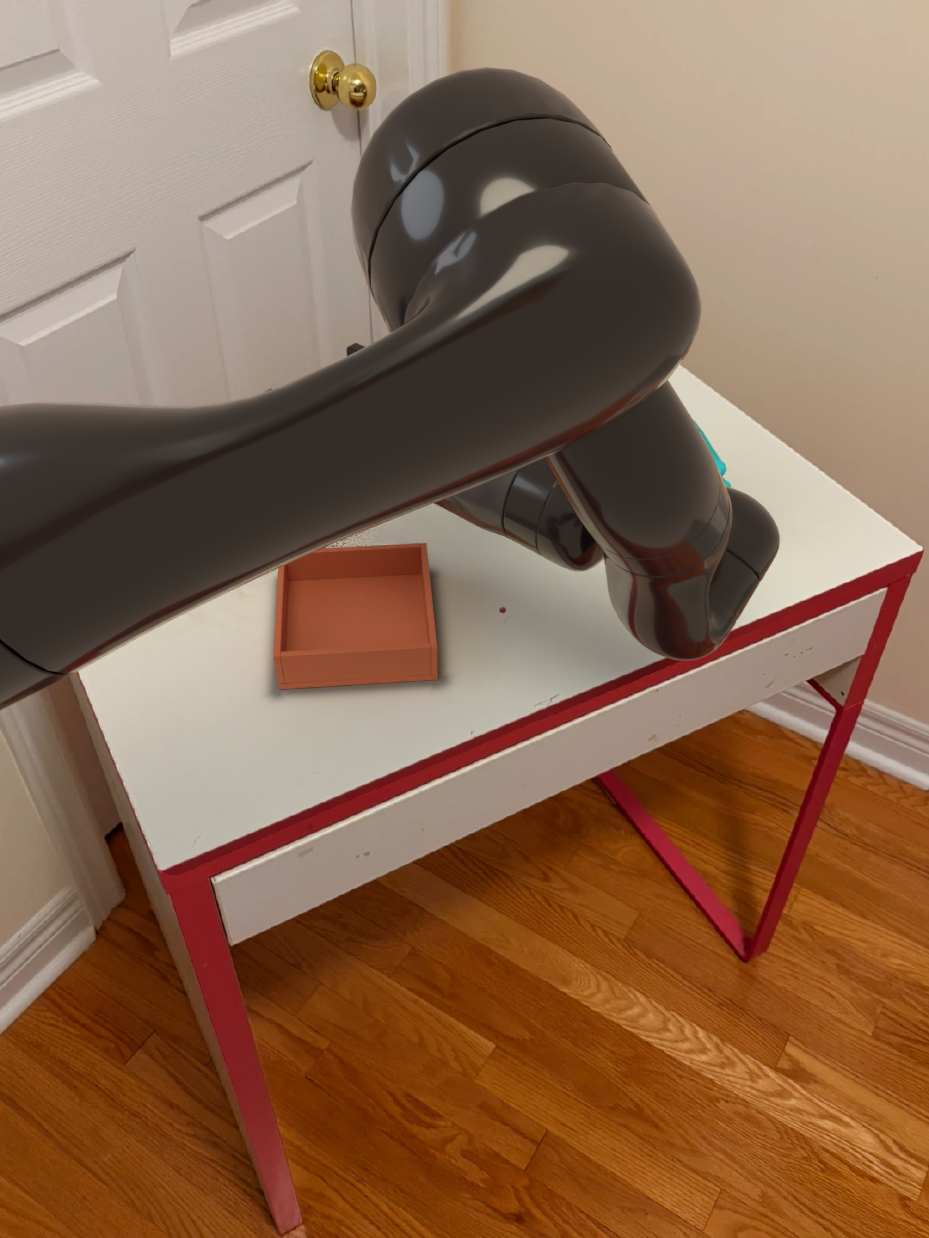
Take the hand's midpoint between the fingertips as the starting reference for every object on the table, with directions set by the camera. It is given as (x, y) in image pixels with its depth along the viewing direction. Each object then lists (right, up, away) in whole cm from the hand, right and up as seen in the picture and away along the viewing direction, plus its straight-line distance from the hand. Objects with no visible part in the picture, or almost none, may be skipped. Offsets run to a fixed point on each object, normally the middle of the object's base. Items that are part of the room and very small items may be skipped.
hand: (309, 378), depth 77 cm
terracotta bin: (+3, -18, +7) cm, 20 cm away
